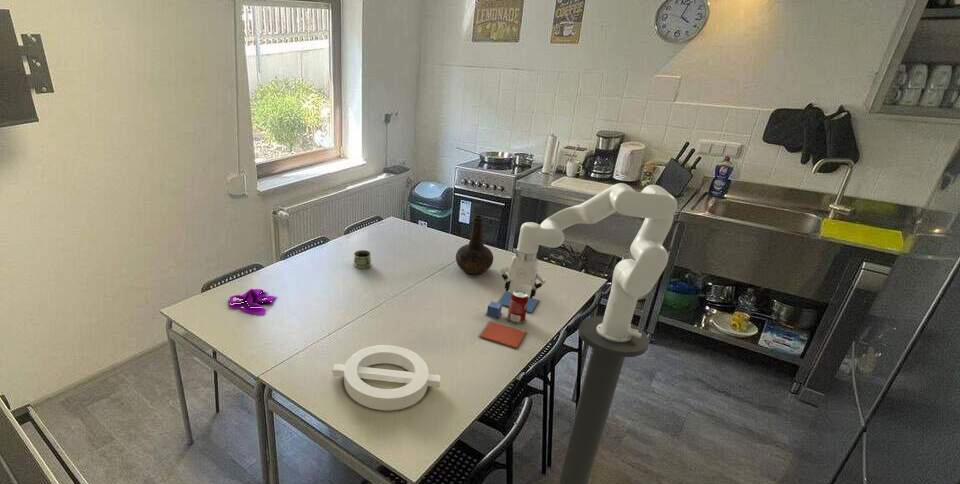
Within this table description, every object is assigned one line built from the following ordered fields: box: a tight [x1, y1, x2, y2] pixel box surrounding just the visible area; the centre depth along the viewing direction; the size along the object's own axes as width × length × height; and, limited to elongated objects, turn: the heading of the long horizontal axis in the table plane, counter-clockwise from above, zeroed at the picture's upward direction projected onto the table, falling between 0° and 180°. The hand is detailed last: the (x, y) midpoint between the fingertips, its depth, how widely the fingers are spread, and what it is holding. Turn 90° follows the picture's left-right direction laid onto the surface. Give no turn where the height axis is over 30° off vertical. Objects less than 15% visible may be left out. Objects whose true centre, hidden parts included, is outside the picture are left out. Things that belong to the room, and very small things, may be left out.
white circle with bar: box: [332, 344, 441, 411], centre depth 164 cm, size 28×28×5 cm
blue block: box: [486, 301, 503, 319], centre depth 202 cm, size 4×4×4 cm
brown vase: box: [455, 214, 494, 275], centre depth 234 cm, size 18×18×28 cm
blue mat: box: [498, 291, 540, 314], centre depth 211 cm, size 14×12×1 cm
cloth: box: [228, 288, 276, 316], centre depth 210 cm, size 22×19×6 cm
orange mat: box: [479, 321, 526, 349], centre depth 189 cm, size 14×12×1 cm
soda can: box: [507, 289, 529, 324], centre depth 197 cm, size 7×7×12 cm
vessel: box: [353, 249, 372, 269], centre depth 244 cm, size 12×9×6 cm
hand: (519, 293), depth 194 cm, fingers open, 9 cm apart
